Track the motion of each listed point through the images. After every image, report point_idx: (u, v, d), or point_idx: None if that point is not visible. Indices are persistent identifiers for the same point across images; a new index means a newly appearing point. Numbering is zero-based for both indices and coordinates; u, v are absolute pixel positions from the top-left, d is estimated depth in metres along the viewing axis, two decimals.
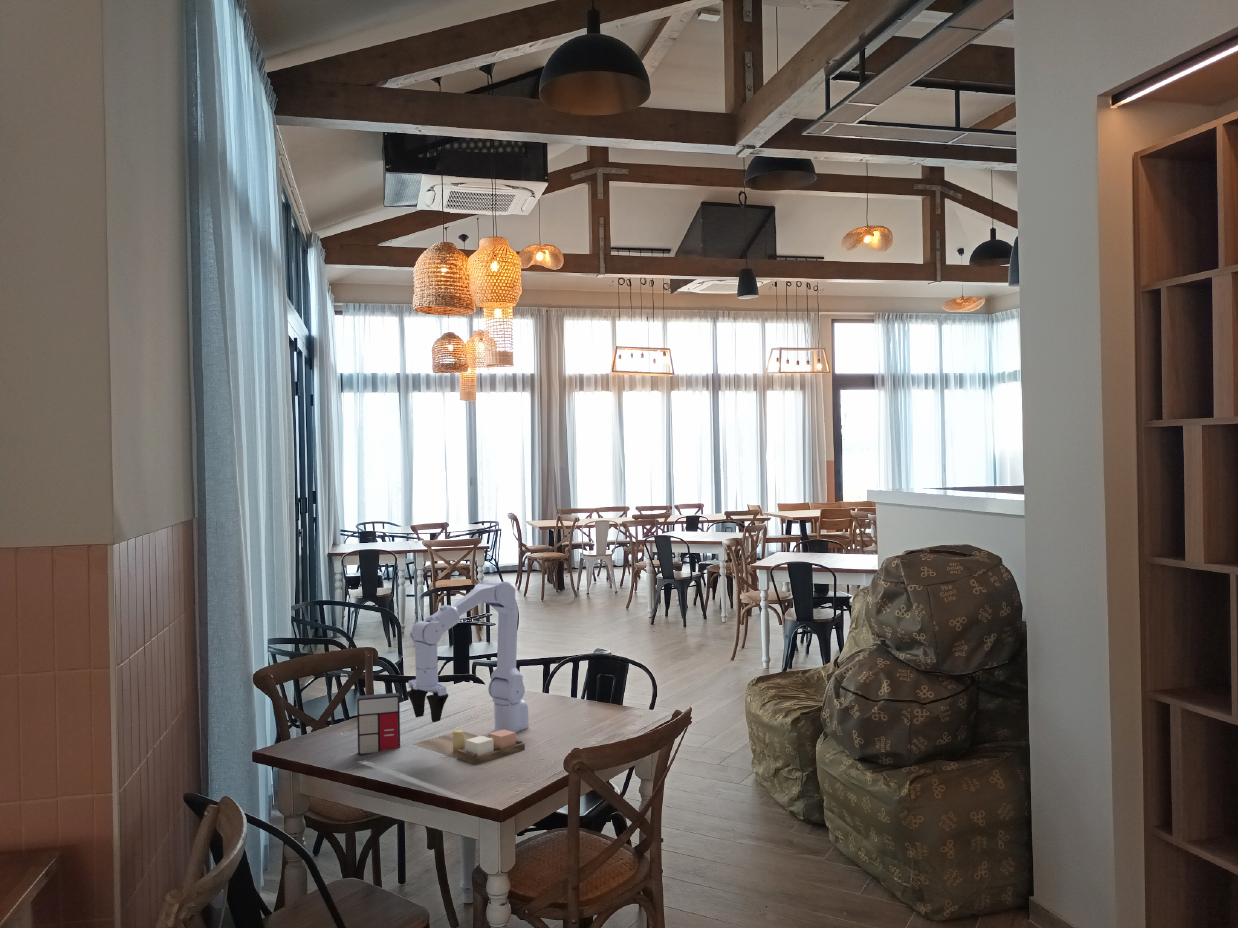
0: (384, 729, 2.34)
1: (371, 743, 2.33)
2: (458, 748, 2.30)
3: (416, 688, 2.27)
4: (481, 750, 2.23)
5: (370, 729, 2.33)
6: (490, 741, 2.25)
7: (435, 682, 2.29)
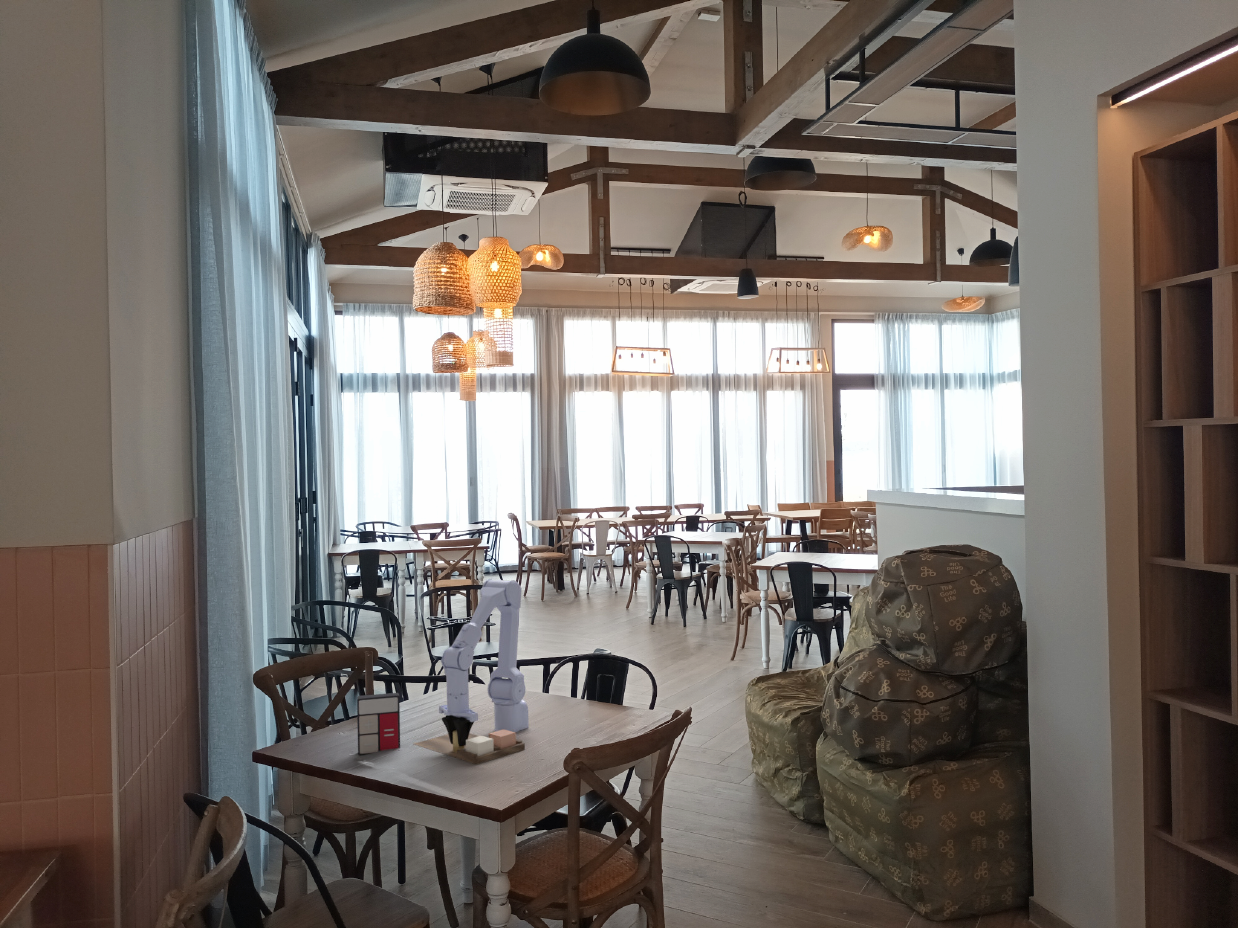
0: (384, 729, 2.34)
1: (371, 743, 2.33)
2: (458, 748, 2.30)
3: (448, 714, 2.29)
4: (481, 750, 2.23)
5: (370, 729, 2.33)
6: (490, 741, 2.25)
7: (466, 708, 2.31)
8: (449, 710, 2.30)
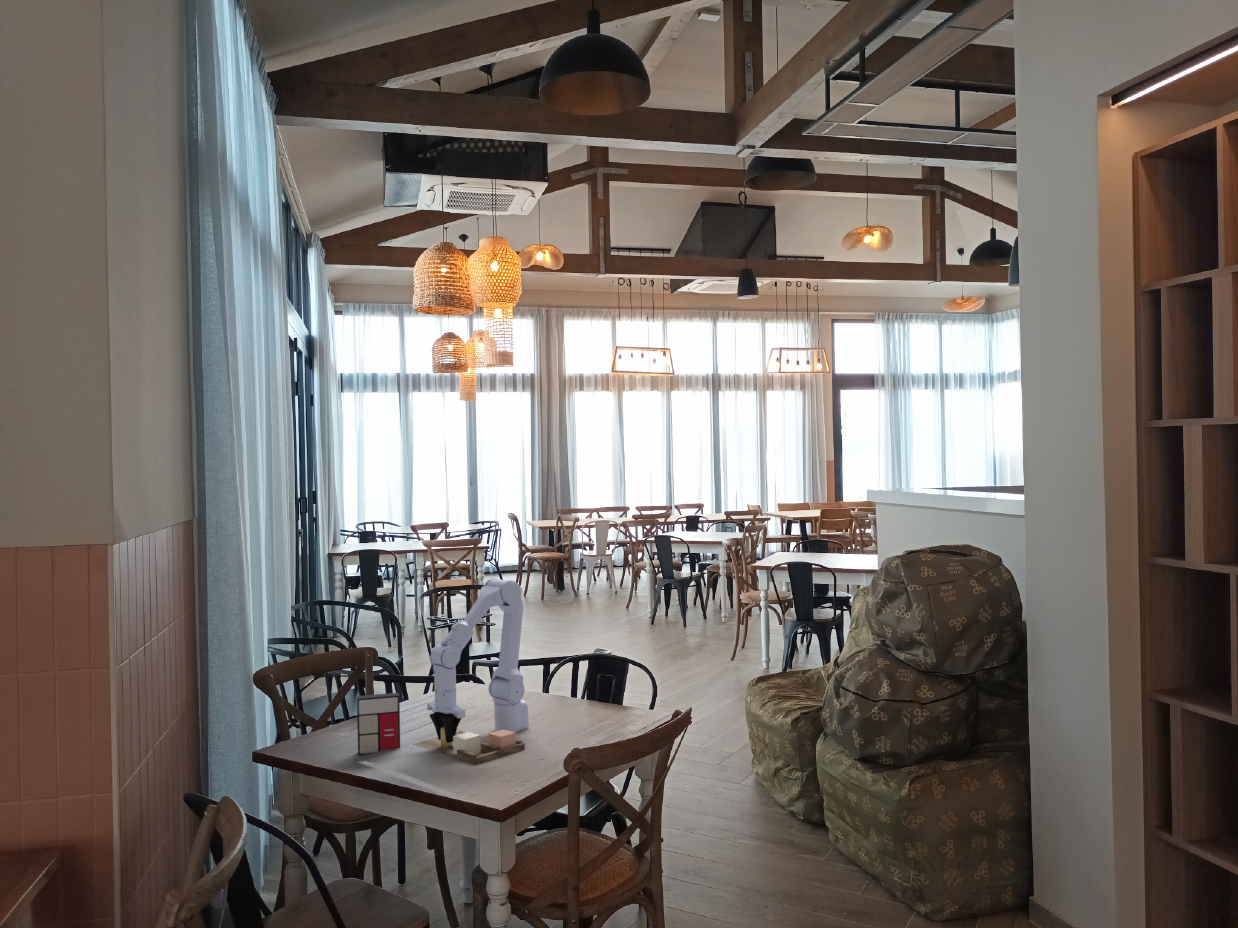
0: (384, 729, 2.34)
1: (371, 743, 2.33)
2: (446, 744, 2.34)
3: (435, 711, 2.32)
4: (468, 745, 2.27)
5: (370, 729, 2.33)
6: (477, 737, 2.29)
7: (454, 704, 2.35)
8: (437, 707, 2.34)
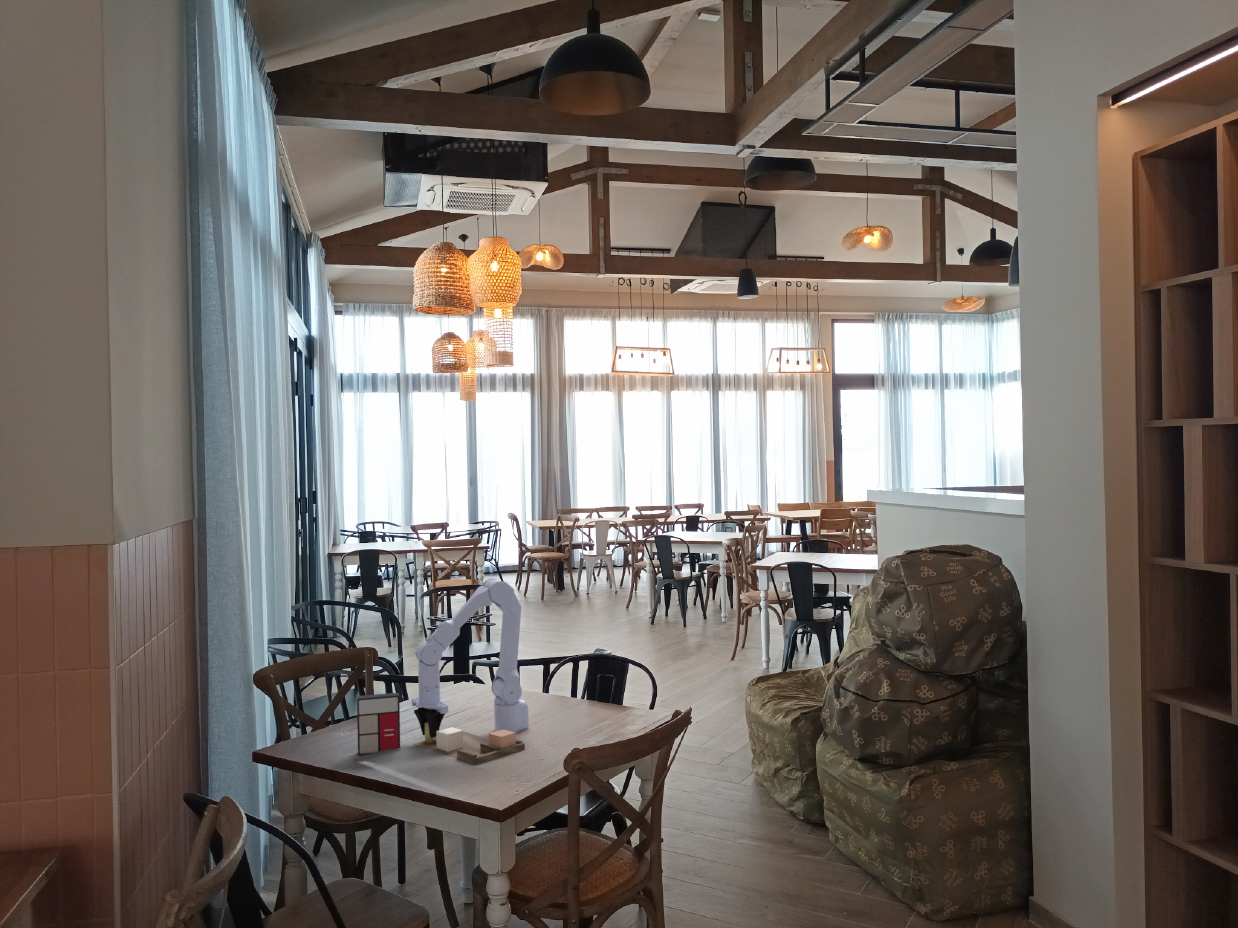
0: (384, 729, 2.34)
1: (371, 743, 2.33)
2: (430, 739, 2.39)
3: (419, 706, 2.38)
4: (451, 740, 2.32)
5: (370, 729, 2.33)
6: (460, 732, 2.34)
7: (437, 700, 2.40)
8: (421, 702, 2.39)
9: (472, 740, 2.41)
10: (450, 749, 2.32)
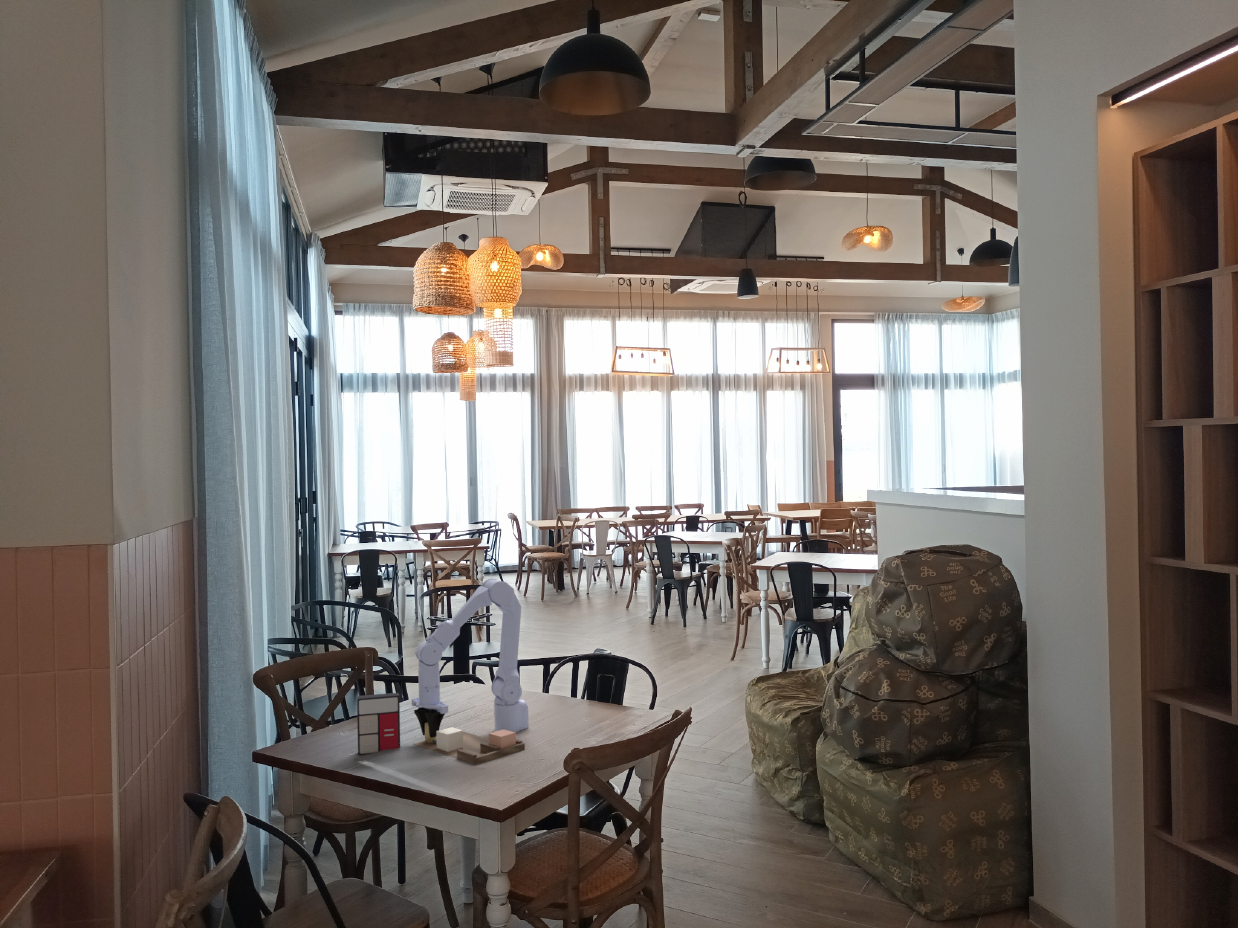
0: (384, 729, 2.34)
1: (371, 743, 2.33)
2: (430, 739, 2.39)
3: (419, 706, 2.38)
4: (451, 740, 2.32)
5: (370, 729, 2.33)
6: (460, 732, 2.34)
7: (437, 700, 2.40)
8: (421, 702, 2.39)
9: (472, 740, 2.41)
10: (450, 749, 2.32)
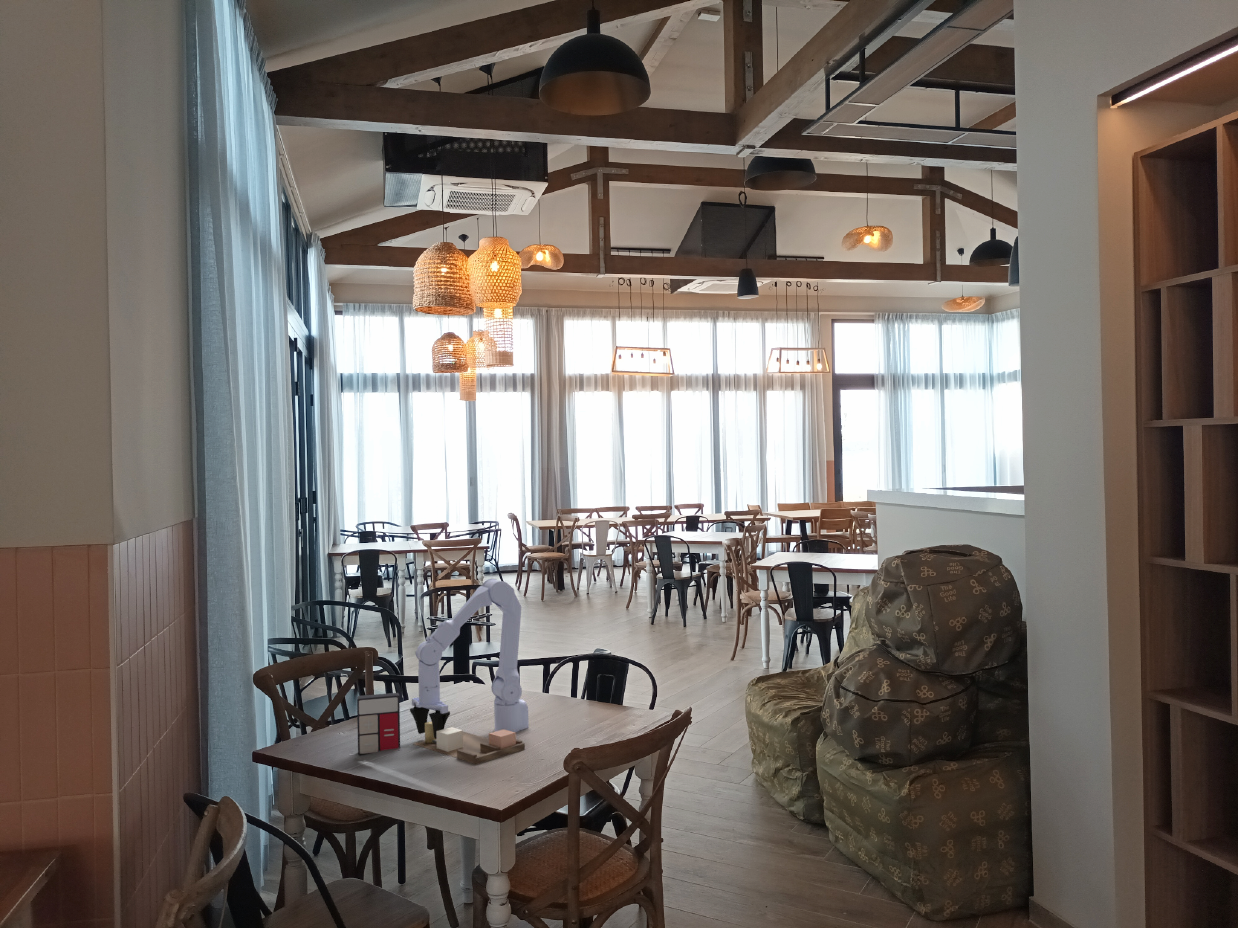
0: (384, 729, 2.34)
1: (371, 743, 2.33)
2: (430, 739, 2.39)
3: (419, 706, 2.38)
4: (451, 740, 2.32)
5: (370, 729, 2.33)
6: (460, 732, 2.34)
7: (437, 700, 2.40)
8: (421, 702, 2.39)
9: (472, 740, 2.41)
10: (450, 749, 2.32)
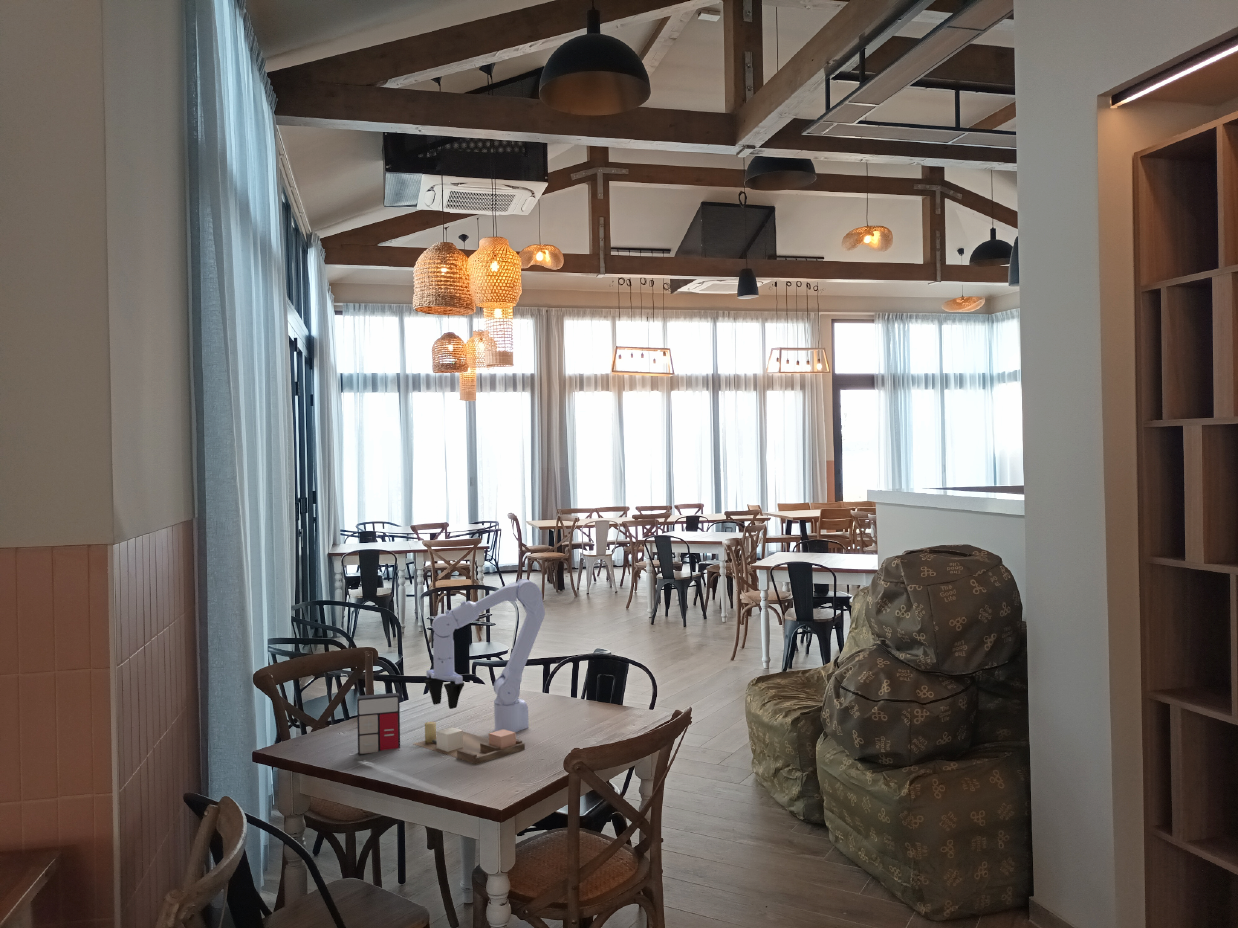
0: (384, 729, 2.34)
1: (371, 743, 2.33)
2: (430, 739, 2.39)
3: (434, 677, 2.43)
4: (451, 740, 2.32)
5: (370, 729, 2.33)
6: (460, 732, 2.34)
7: (452, 671, 2.45)
8: (436, 673, 2.44)
9: (472, 740, 2.41)
10: (450, 749, 2.32)
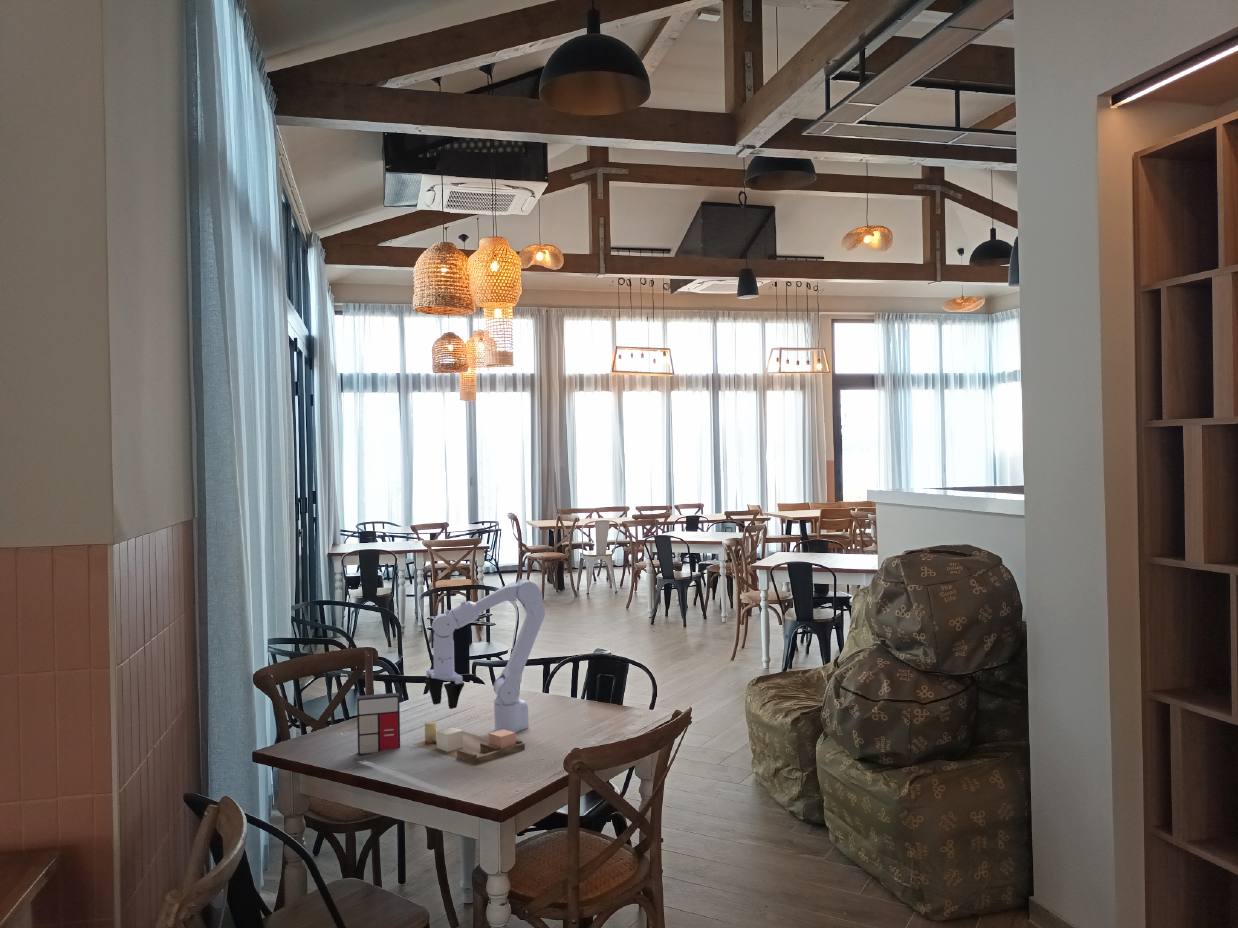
0: (384, 729, 2.34)
1: (371, 743, 2.33)
2: (430, 739, 2.39)
3: (434, 677, 2.43)
4: (451, 740, 2.32)
5: (370, 729, 2.33)
6: (460, 732, 2.34)
7: (452, 671, 2.45)
8: (436, 673, 2.44)
9: (472, 740, 2.41)
10: (450, 749, 2.32)
